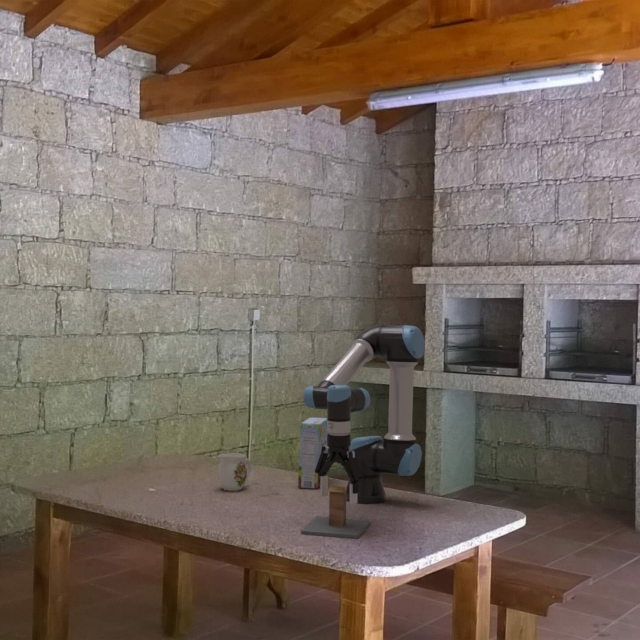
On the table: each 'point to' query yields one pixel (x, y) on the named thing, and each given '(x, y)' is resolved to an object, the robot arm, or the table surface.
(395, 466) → the robot arm
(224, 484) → the pitcher
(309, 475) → the snack box
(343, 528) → the mat
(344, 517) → the post
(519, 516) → the table surface
